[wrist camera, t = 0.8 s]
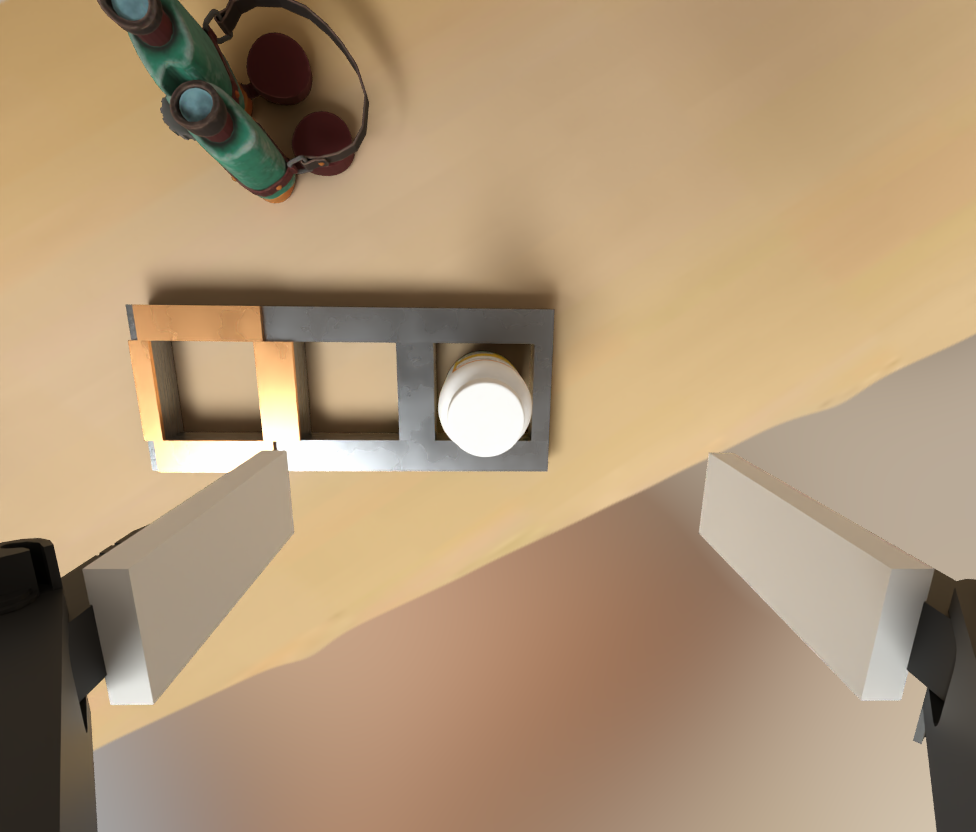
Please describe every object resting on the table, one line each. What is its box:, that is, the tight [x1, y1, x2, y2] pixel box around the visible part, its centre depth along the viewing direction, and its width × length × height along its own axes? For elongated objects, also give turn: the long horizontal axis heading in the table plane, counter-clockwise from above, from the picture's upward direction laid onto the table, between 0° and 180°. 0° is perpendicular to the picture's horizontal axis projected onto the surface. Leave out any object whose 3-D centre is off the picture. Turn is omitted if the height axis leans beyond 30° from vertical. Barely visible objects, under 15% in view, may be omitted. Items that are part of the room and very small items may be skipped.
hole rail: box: [126, 305, 554, 472], centre depth 32 cm, size 27×11×2 cm, turn 89°
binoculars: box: [97, 0, 369, 203], centre depth 24 cm, size 9×11×10 cm
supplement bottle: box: [438, 351, 532, 457], centre depth 28 cm, size 5×5×10 cm
